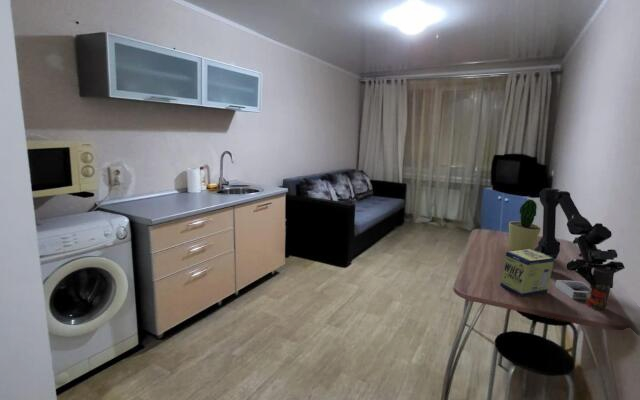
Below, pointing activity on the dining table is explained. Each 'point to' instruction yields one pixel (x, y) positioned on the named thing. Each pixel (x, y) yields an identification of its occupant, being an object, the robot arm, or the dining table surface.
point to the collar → (570, 285)
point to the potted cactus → (524, 228)
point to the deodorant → (600, 288)
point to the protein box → (527, 272)
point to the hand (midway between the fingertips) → (603, 287)
